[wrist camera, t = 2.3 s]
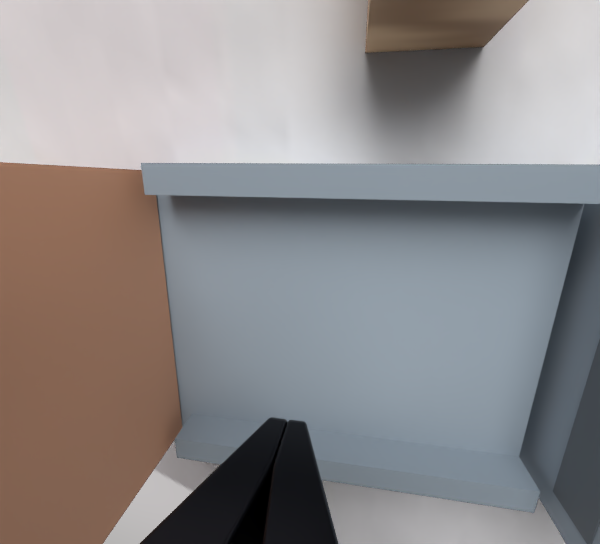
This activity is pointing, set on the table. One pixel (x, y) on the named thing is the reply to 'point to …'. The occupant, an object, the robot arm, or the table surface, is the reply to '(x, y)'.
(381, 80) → the table surface
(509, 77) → the table surface
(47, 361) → the panel
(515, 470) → the truck bed
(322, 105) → the table surface
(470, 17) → the upright cardboard box
